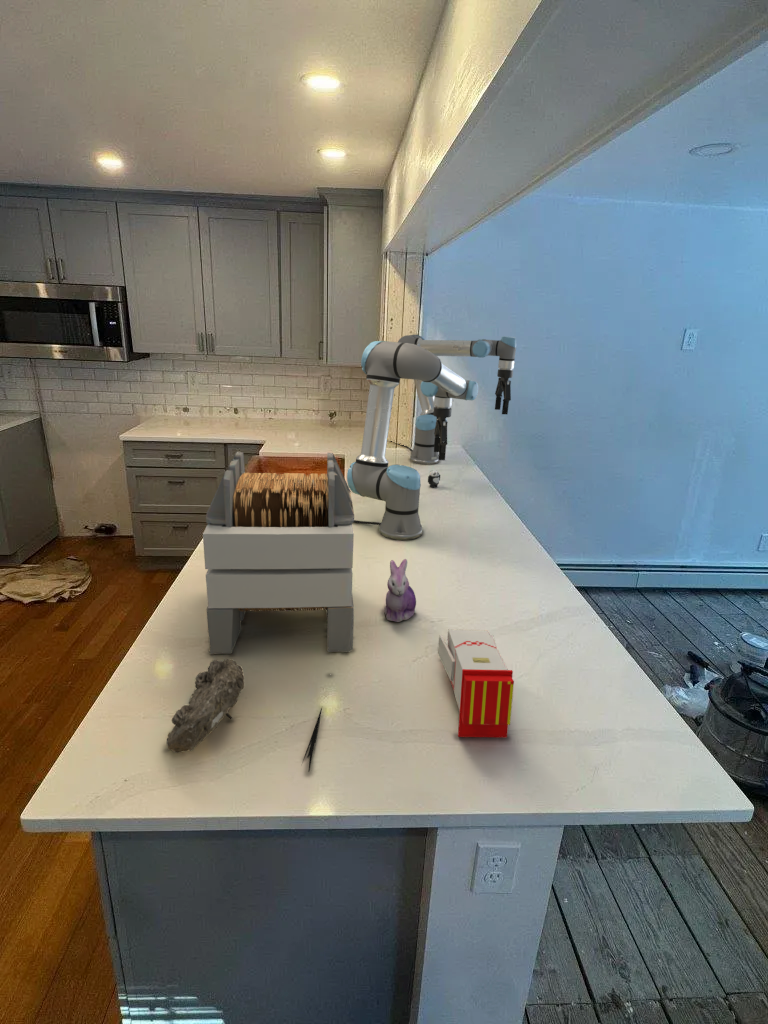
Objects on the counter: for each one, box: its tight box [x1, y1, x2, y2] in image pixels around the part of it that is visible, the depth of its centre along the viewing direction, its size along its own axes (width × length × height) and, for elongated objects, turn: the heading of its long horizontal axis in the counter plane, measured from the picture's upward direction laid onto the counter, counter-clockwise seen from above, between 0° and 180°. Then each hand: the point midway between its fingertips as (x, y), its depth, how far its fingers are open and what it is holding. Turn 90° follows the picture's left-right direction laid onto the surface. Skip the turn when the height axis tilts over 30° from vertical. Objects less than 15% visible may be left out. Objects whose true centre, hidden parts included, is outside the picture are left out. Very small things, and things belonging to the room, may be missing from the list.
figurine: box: [384, 558, 417, 623], centre depth 145 cm, size 9×10×15 cm
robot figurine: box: [427, 470, 441, 489], centre depth 254 cm, size 6×5×8 cm
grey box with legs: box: [202, 451, 355, 655], centre depth 137 cm, size 34×33×41 cm
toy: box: [437, 628, 515, 738], centre depth 117 cm, size 12×13×30 cm
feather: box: [301, 673, 332, 771], centre depth 108 cm, size 2×28×2 cm
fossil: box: [166, 658, 245, 754], centre depth 106 cm, size 22×10×15 cm
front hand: (439, 455), depth 247 cm, fingers open, 13 cm apart
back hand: (500, 411), depth 289 cm, fingers open, 13 cm apart
